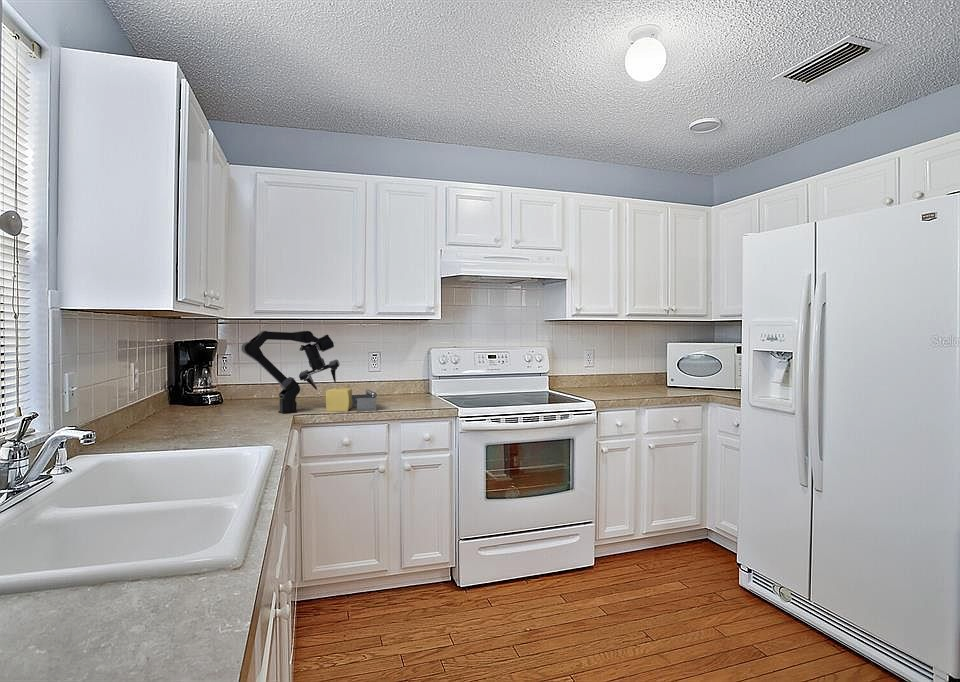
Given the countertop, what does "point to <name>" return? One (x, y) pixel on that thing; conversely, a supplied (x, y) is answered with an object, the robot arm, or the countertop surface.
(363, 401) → the leaf bracket
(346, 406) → the cheese
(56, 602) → the countertop surface
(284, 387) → the robot arm
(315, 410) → the countertop surface
